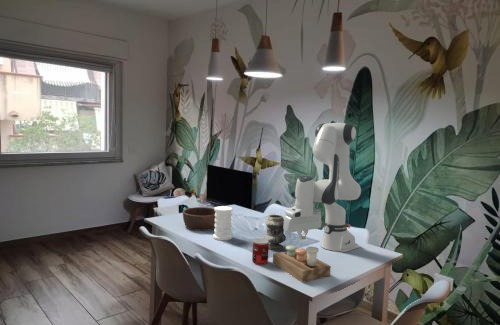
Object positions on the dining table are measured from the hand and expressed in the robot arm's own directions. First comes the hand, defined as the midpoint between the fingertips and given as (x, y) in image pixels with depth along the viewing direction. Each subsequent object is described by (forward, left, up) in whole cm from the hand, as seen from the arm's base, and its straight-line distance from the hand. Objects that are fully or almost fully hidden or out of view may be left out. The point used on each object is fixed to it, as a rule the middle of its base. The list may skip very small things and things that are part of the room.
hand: (302, 238), depth 171 cm
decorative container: (+14, -59, -15) cm, 62 cm away
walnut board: (0, 0, -15) cm, 15 cm away
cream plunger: (0, +8, -10) cm, 13 cm away
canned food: (+13, -16, -15) cm, 26 cm away
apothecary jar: (-6, -32, -15) cm, 36 cm away
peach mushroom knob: (0, 0, -13) cm, 13 cm away
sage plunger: (0, -8, -14) cm, 16 cm away
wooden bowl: (+17, -86, -15) cm, 89 cm away
